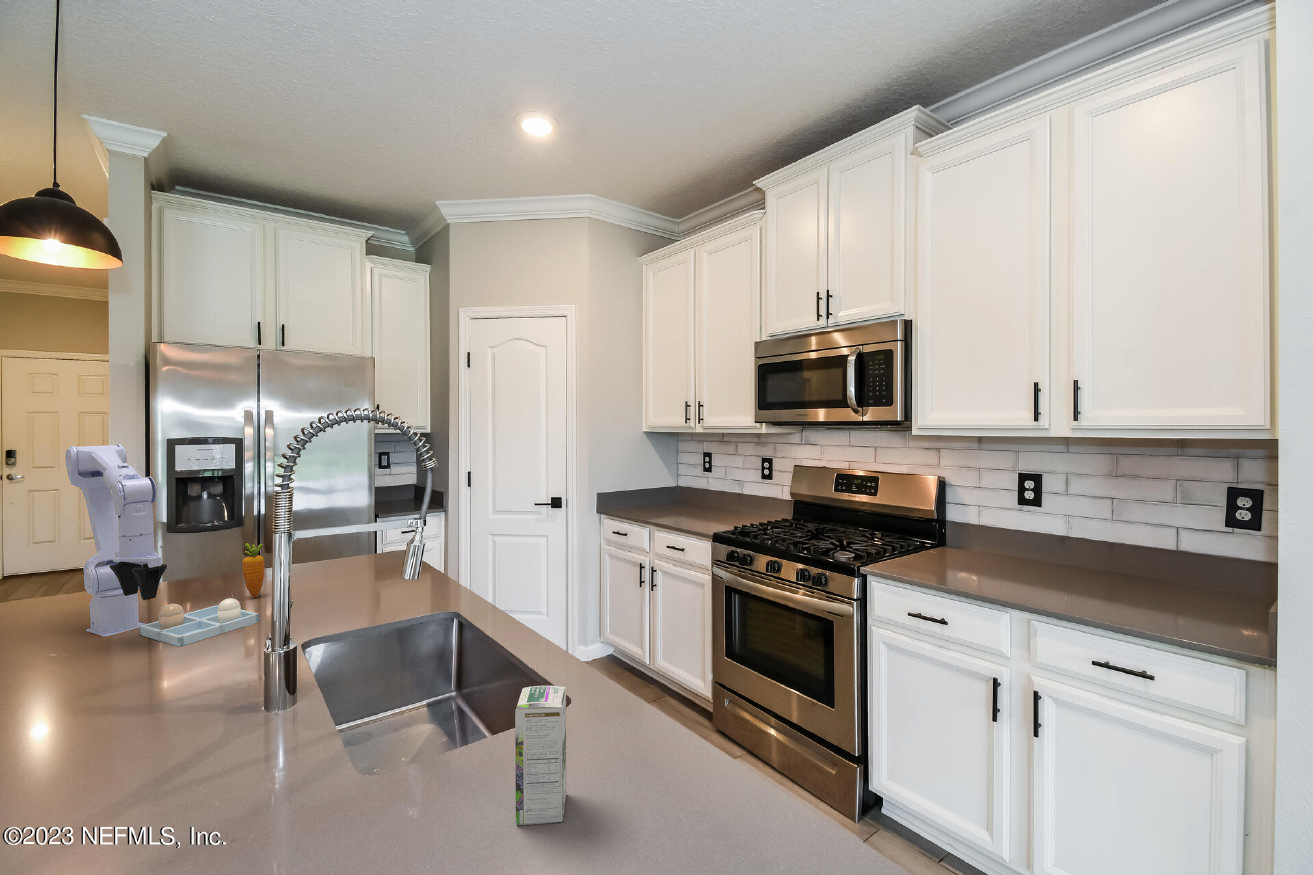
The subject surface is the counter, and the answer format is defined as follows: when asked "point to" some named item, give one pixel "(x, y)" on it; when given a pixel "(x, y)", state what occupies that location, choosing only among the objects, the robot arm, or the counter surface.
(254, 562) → the carrot
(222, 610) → the cream egg
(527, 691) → the syrup box
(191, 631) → the divided tray
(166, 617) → the brown egg
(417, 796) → the counter surface
